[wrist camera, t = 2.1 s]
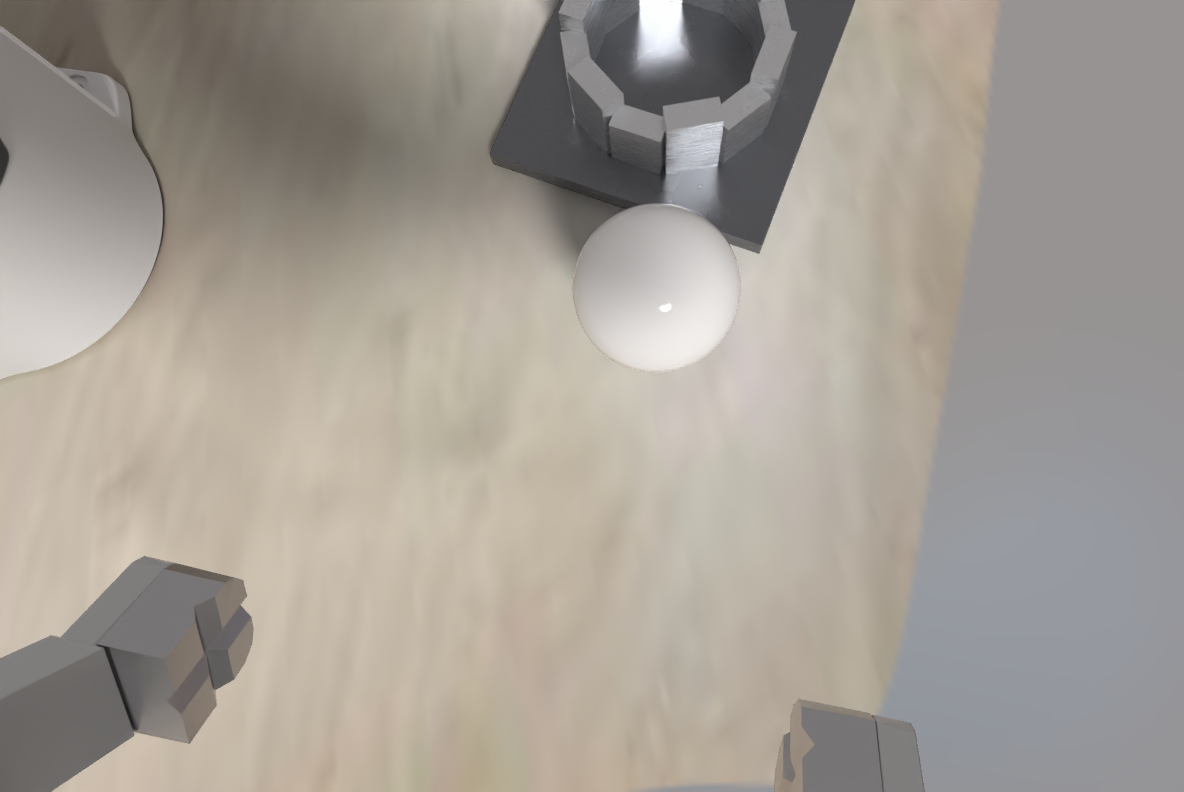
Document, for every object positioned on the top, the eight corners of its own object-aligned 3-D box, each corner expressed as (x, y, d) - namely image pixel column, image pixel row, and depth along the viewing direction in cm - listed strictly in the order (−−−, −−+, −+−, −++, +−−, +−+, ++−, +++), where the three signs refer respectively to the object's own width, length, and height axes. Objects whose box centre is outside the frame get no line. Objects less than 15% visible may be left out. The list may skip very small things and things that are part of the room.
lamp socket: (493, 163, 42) (472, 109, 37) (596, -64, 44) (589, -143, 40) (759, 253, 40) (773, 207, 35) (851, 10, 42) (877, -64, 37)
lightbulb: (716, 275, 40) (739, 163, 29) (730, 405, 38) (760, 337, 28) (584, 288, 40) (558, 181, 29) (593, 417, 39) (570, 354, 28)
